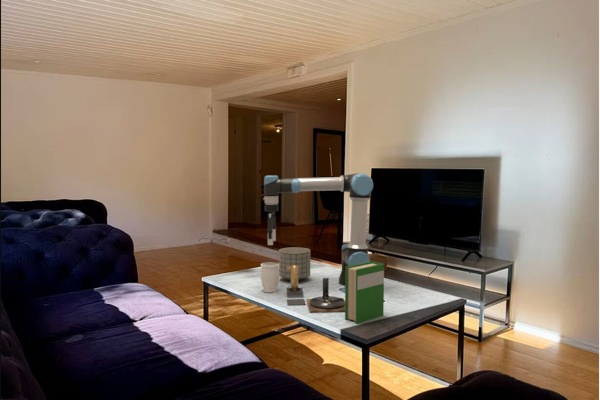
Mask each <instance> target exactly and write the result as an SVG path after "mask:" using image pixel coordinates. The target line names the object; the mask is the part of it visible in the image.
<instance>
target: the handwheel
mask: <svg viewBox="0 0 600 400" xmlns="http://www.w3.org/2000/svg"><path fill="white" fill-rule="evenodd" d="M329 281H330V279H329V277H323V278H322V295H321V296H317V297H316V296H315V297H313V298H310V299H311V300H310V305H311V306H313V307H316V308H321V309H336V308H340V307H343V306H344V305H345V301H344V300H345V299H344V300H343V299H341V298H342V297H339V296H333V295H331V296H330V295H329V293H330V292H329V291H330V289H329V287H330V285H329Z"/></svg>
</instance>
